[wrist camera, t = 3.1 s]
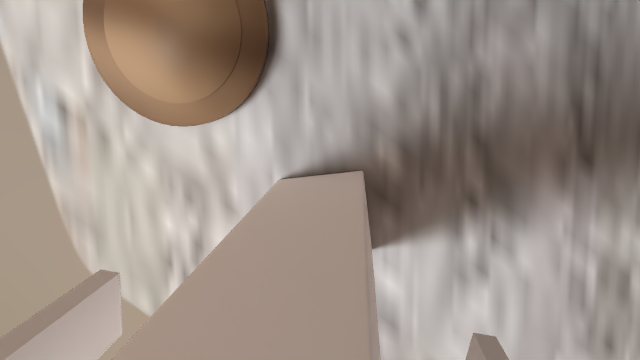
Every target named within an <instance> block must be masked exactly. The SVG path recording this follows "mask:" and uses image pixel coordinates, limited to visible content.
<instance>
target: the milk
mask: <svg viewBox="0 0 640 360" xmlns="http://www.w3.org/2000/svg"><path fill="white" fill-rule="evenodd" d="M111 360H381V357H380V345H379V332H378V320H377V307H376V294H375V282H374V269H373V257H372V246H371V237H370V228H369V219H368V210H367V200H366V191H365V182H364V173H363V171H354V172H345V173H336V174H327V175H317V176H308V177H299V178H290V179H281V180H278V181H277V182H276V183H275V184H274V185H273V187H272V188H271V189H270V190H269V191H268V192H267V193H266V194H265V195H264V196H263V197H262V198H261V199H260V200H259V202H258V203H257V204H256V205H255V206H254V207H253V208H252V209H251V210H250V211H249V212H248V213H247V214H246V215H245V217H244V218H243V219H242V220H241V221H240V222H239V223H238V224H237V225H236V226H235V227H234V228H233V229H232V230H231V232H230V233H229V234H228V235H227V236H226V237H225V238H224V239H223V240H222V241H221V242H220V243H219V244H218V246H217V247H216V248H215V249H214V250H213V251H212V252H211V253H210V254H209V255H208V256H207V257H206V258H205V259H204V261H203V262H202V263H201V264H200V265H199V266H198V267H197V268H196V269H195V270H194V271H193V272H192V273H191V274H190V276H189V277H188V278H187V279H186V280H185V281H184V282H183V283H182V284H181V285H180V286H179V287H178V288H177V289H176V291H175V292H174V293H173V294H172V295H171V296H170V297H169V298H168V299H167V300H166V301H165V302H164V303H163V304H162V306H161V307H160V308H159V309H158V310H157V311H156V312H155V313H154V314H153V315H152V316H151V317H150V318H149V320H148V321H147V322H146V323H145V324H144V325H143V326H142V327H141V328H140V329H139V330H138V331H137V332H136V334H135V335H134V336H133V337H132V338H131V339H130V340H129V341H128V342H127V343H126V344H125V345H124V346H123V347H122V348H121V350H120V351H119V352H118V353H117V354H116V355H115V356H114V357H113V358H112V359H111Z"/></svg>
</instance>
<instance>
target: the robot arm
mask: <svg viewBox="0 0 640 360" xmlns="http://www.w3.org/2000/svg"><path fill="white" fill-rule="evenodd" d="M121 316H122V315H121V291H120V273H117V272H111V271H105V270H100V271H98V272H97V273H95V274H94V275H92V276H91V277H89V278H88V279H86V280H85V281H83V282H82V283H81V284H79V285H78V286H76V287H75V288H73V289H72V290H70V291H69V292H67V293H66V294H64V295H63V296H61V297H60V298H58V299H57V300H56V301H54V302H53V303H51V304H50V305H48V306H47V307H45V308H44V309H42V310H41V311H39V312H38V313H36V314H35V315H34V316H32V317H31V318H29V319H28V320H26V321H25V322H24V323H22V324H20V325H19V326H17V327H16V328H14V329H13V330H12V331H10V332H9V333H7V334H6V335H4V336H3V337H1V338H0V360H97V359H98V358H99V357H100V356H101V355H102V354H103V353H104V352H105V351H106V350H107V349H108V348H109V347H110V346H111V345H112V344H113V343H114V342H115V341H116V340H117V339H118V338H119V337H120V336H121V335H122V317H121ZM466 360H509V359H508V357H507V355H506V354H505V352H504V350H503V348H502V347H501V345H500V343H499V342H498V340H497V338H496V337H495V336H489V335H483V334H477V333H473V335H472V339H471V342H470V346H469V350H468V353H467V357H466Z"/></svg>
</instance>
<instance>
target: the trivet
mask: <svg viewBox="0 0 640 360" xmlns="http://www.w3.org/2000/svg"><path fill="white" fill-rule="evenodd" d="M83 24H84V32H85V37H86V41H87V45H88V48H89V51H90V54H91V57H92V59H93V61H94V64H95V66H96V68H97V70H98V72H99V73H100V75H101V77H102V78H103V80H104V81H105V83H106V84H107V85H108V87H109V88H110V89H111V91H112V92H113V93H114V94H115V95H116V96H117V97H118V98H119V99H120V100H121V101H122V102H123V103H125V104H126V105H127V106H128V107H129V108H131V109H132V110H134V111H135V112H137V113H138V114H140V115H142V116H144V117H146V118H148V119H150V120H153V121H156V122H159V123H162V124H167V125H171V126H195V125H200V124H205V123H209V122H212V121H215V120H218V119H220V118H222V117H224V116H226V115H228V114H229V113H231V112H232V111H233V110H235V109H236V108H237V107H239V106H240V105H241V104H242V103H243V102H244V101H245V100H246V99H247V97H248V96H249V95H250V93H251V92H252V91H253V89H254V88H255V86H256V84H257V82H258V80H259V79H260V76H261V74H262V71H263V69H264V65H265V61H266V58H267V52H268V45H269V24H268V15H267V10H266V6H265V2H264V0H84V1H83Z"/></svg>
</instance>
